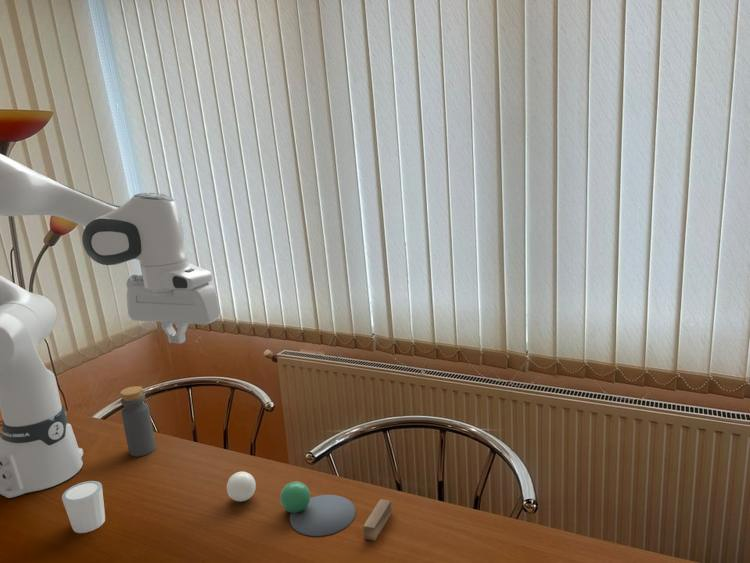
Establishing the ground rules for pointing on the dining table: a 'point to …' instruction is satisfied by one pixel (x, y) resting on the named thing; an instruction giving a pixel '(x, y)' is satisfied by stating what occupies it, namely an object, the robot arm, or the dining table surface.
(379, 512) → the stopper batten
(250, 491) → the cue ball
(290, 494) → the green ball
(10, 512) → the dining table surface
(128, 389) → the bottle
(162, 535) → the dining table surface
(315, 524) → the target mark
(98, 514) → the shot glass
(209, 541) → the dining table surface
